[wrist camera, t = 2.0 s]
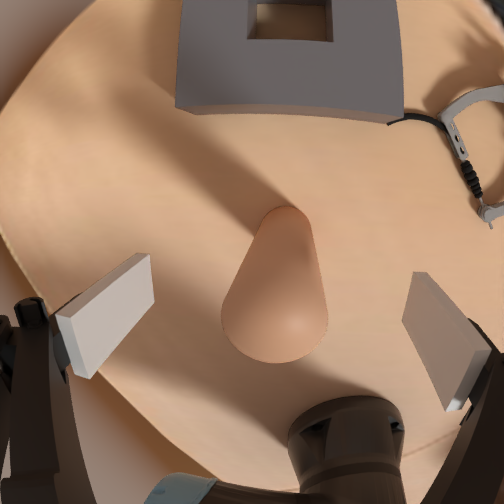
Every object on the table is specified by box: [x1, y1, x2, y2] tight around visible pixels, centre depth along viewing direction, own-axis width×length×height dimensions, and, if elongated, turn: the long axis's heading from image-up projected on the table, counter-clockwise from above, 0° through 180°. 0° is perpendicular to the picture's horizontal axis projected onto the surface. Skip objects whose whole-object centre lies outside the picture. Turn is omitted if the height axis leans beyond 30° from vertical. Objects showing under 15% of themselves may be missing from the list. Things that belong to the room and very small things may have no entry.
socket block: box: [175, 0, 404, 124], centre depth 19 cm, size 16×16×5 cm
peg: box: [221, 206, 328, 363], centre depth 19 cm, size 4×4×15 cm
